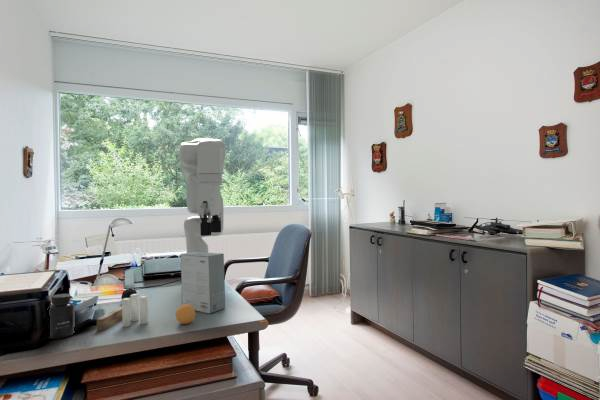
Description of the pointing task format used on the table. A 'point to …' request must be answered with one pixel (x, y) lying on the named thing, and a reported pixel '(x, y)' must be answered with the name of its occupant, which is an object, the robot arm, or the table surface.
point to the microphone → (128, 293)
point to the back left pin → (126, 312)
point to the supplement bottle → (61, 316)
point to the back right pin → (134, 307)
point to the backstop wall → (109, 319)
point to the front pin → (143, 309)
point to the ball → (185, 314)
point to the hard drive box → (203, 281)
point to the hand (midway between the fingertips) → (211, 233)
